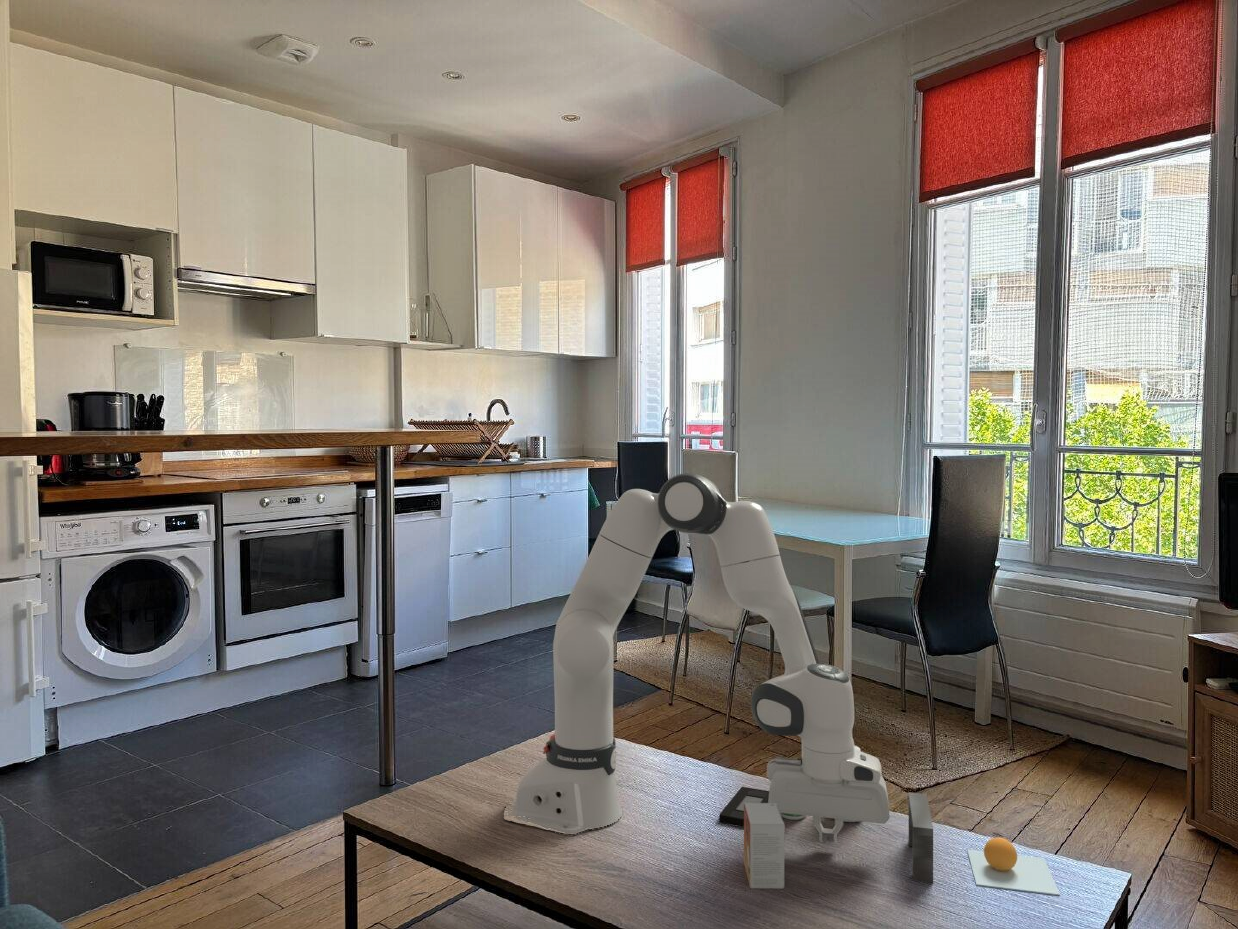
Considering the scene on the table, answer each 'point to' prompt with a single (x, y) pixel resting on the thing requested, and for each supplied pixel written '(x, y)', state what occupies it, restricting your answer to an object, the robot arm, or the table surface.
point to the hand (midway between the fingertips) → (828, 841)
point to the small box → (764, 845)
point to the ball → (1000, 854)
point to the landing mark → (1014, 874)
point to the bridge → (921, 837)
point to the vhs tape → (741, 805)
